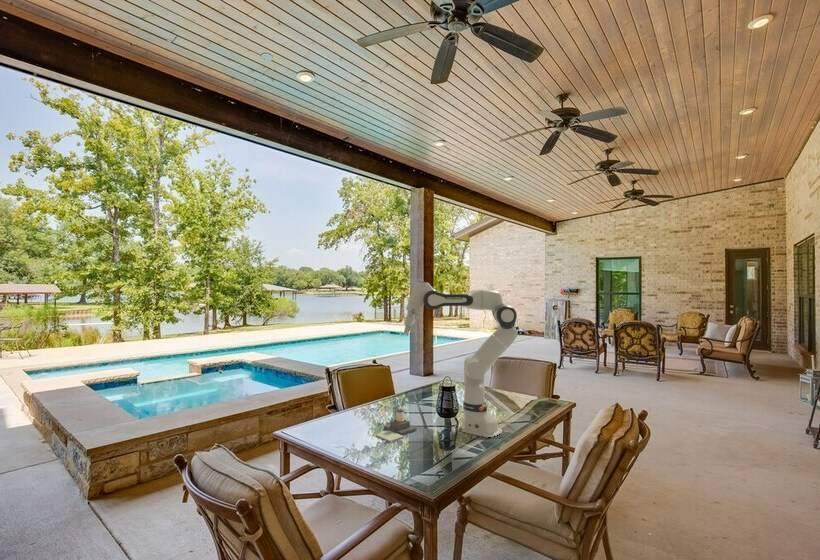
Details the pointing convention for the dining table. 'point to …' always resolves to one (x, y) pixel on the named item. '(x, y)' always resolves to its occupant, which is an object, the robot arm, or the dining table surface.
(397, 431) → the socket
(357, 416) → the dining table surface
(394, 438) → the mat
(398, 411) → the plug
